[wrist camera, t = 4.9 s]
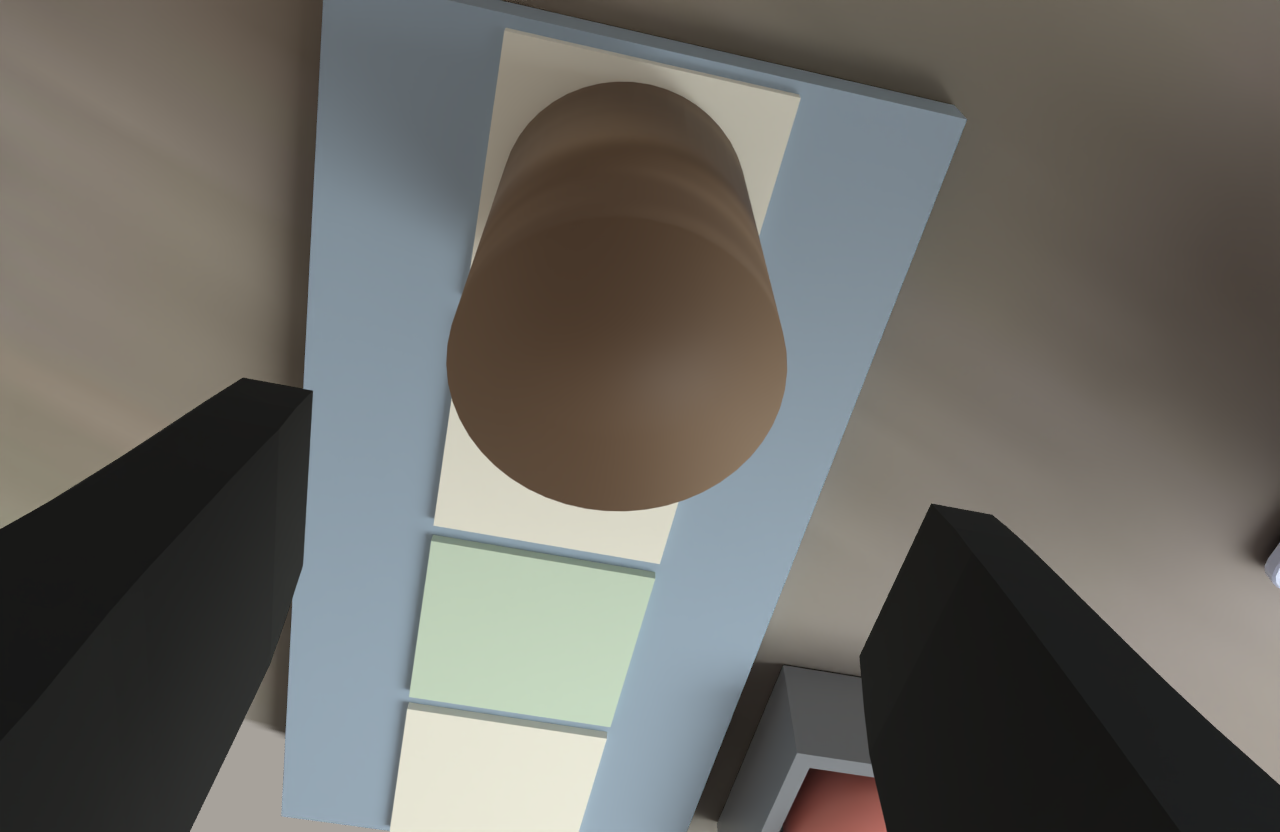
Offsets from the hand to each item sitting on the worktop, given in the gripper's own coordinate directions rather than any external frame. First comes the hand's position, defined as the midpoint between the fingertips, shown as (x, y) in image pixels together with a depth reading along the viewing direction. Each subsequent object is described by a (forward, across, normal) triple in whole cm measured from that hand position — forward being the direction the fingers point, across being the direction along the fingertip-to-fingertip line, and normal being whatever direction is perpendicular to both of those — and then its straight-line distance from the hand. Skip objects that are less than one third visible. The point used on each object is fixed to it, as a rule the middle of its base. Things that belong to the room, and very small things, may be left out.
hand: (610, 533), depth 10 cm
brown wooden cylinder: (+8, 0, 0) cm, 8 cm away
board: (+9, 0, +8) cm, 12 cm away
